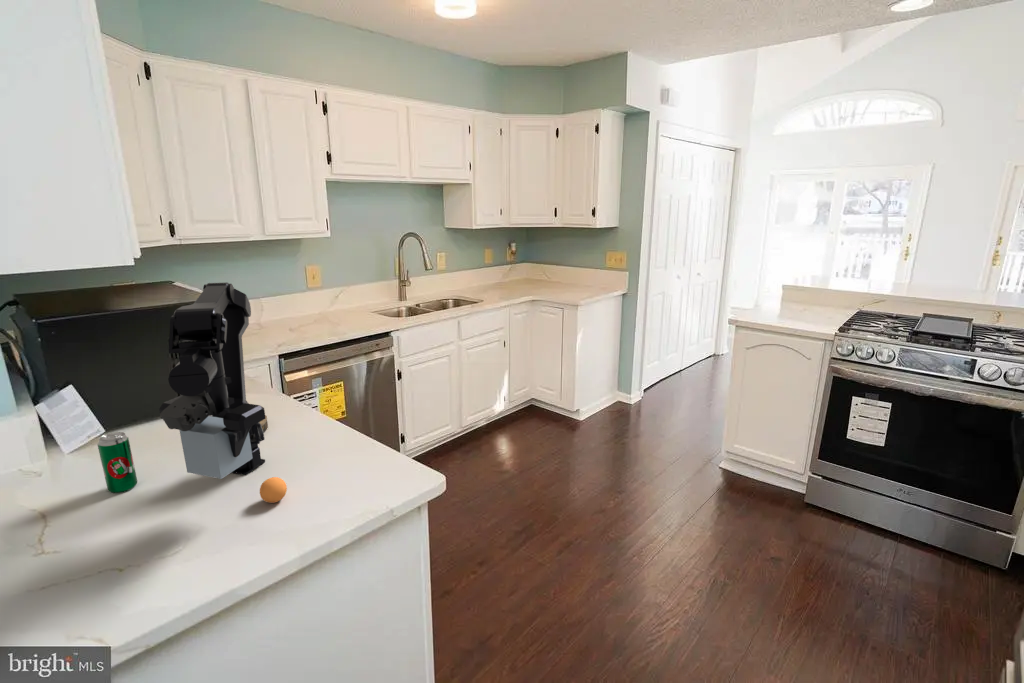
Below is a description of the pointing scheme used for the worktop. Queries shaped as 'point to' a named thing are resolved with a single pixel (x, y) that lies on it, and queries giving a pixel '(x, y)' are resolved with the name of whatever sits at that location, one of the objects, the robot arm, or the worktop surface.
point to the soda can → (117, 462)
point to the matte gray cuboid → (212, 449)
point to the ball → (273, 489)
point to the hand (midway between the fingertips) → (219, 453)
